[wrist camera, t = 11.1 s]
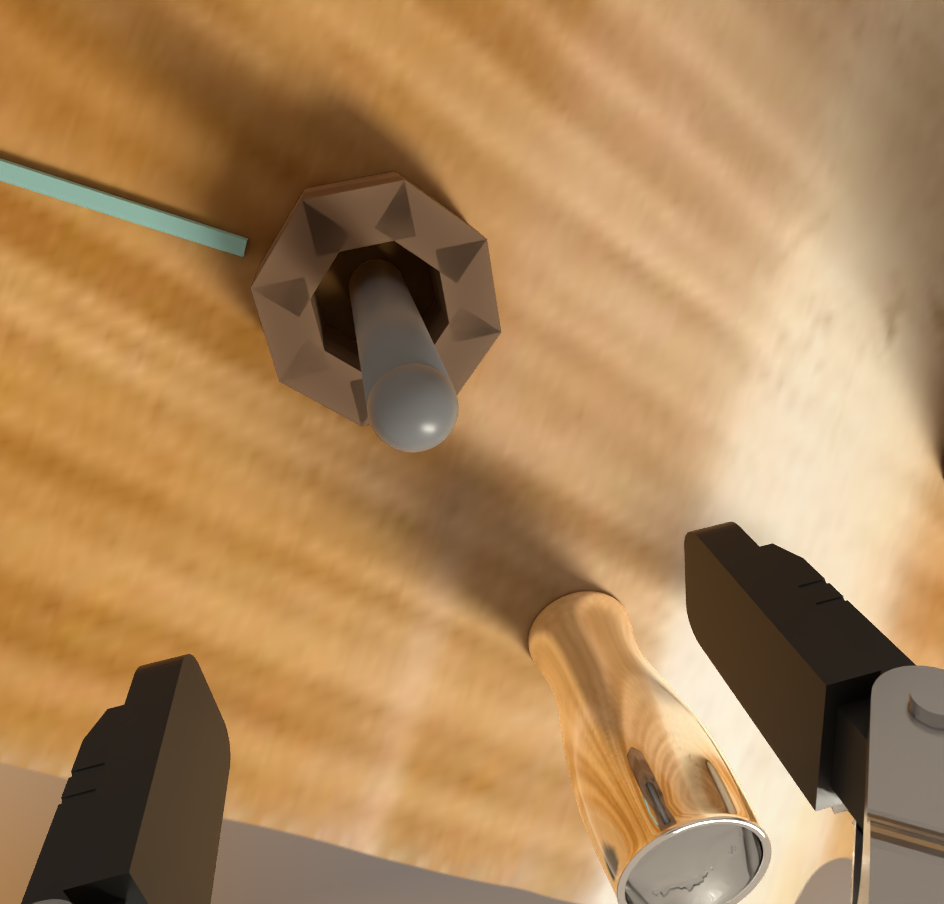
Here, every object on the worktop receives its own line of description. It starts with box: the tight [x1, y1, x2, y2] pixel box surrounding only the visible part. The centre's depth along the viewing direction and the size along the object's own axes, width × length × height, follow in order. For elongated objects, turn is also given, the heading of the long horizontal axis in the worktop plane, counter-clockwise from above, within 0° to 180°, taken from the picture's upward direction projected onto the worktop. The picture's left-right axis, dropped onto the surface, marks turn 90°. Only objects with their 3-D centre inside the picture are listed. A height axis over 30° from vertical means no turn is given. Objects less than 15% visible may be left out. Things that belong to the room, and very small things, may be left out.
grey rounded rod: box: [349, 259, 458, 452], centre depth 25 cm, size 2×2×15 cm
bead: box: [251, 171, 501, 426], centre depth 30 cm, size 9×9×4 cm
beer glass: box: [528, 591, 771, 904], centre depth 35 cm, size 7×7×15 cm
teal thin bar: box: [0, 158, 248, 257], centre depth 28 cm, size 10×1×1 cm, turn 70°
